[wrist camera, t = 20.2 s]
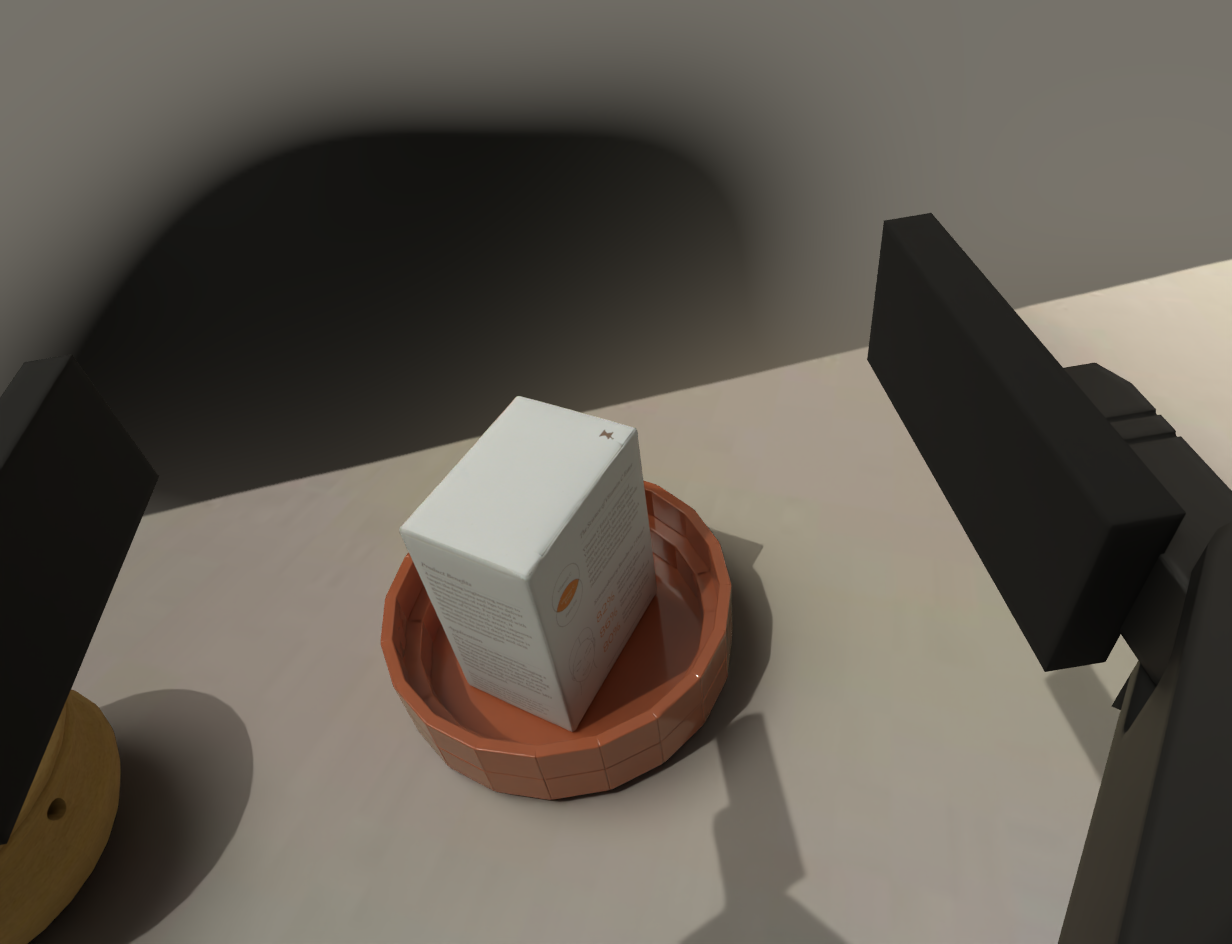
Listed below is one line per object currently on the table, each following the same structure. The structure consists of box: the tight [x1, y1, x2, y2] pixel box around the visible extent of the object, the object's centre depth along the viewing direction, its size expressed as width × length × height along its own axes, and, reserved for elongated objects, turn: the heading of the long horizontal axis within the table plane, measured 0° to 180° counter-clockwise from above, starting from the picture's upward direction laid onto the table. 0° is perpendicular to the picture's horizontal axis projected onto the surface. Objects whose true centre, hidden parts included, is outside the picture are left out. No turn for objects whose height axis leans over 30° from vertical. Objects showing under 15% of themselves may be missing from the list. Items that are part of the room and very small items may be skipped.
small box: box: [399, 396, 657, 732], centre depth 33 cm, size 8×6×10 cm
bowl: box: [381, 481, 733, 800], centre depth 36 cm, size 15×15×4 cm
